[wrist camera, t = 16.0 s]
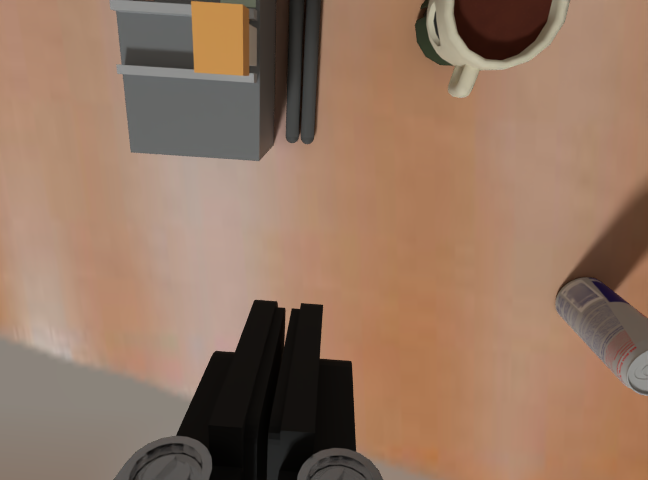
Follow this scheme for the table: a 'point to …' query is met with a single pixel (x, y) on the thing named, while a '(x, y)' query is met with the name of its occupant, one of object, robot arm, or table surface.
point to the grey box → (193, 84)
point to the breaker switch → (223, 38)
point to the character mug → (486, 35)
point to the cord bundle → (309, 69)
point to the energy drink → (608, 329)
